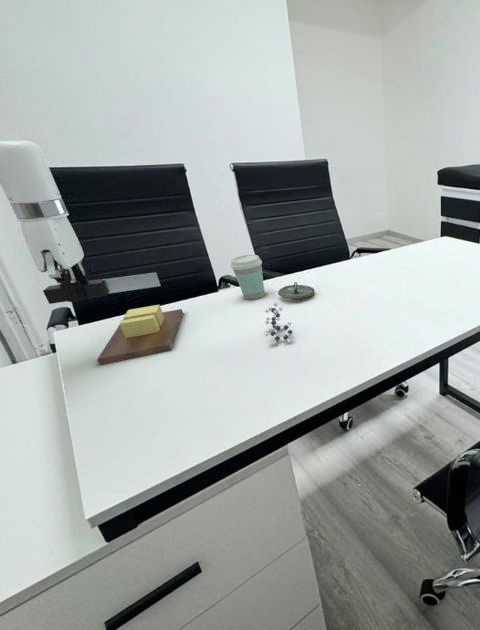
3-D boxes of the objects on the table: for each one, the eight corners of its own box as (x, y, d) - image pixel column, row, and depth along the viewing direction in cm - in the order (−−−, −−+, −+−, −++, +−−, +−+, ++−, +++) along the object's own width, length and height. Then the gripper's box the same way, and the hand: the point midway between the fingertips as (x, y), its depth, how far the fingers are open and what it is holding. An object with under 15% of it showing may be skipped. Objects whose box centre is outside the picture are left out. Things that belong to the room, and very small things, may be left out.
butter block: (129, 331, 96) (123, 317, 95) (134, 323, 101) (128, 309, 99) (161, 325, 99) (155, 311, 97) (164, 318, 103) (159, 304, 101)
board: (99, 364, 86) (97, 359, 85) (125, 324, 104) (123, 319, 103) (171, 350, 90) (169, 344, 90) (183, 313, 109) (181, 308, 108)
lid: (278, 299, 119) (271, 286, 116) (306, 284, 122) (300, 270, 120) (291, 311, 111) (283, 298, 108) (320, 295, 115) (314, 281, 112)
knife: (49, 304, 80) (42, 289, 79) (55, 298, 82) (48, 284, 81) (159, 288, 86) (154, 274, 85) (161, 283, 89) (157, 270, 87)
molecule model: (267, 356, 90) (275, 331, 86) (255, 322, 97) (261, 297, 93) (294, 354, 94) (302, 329, 90) (280, 321, 101) (287, 297, 97)
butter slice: (125, 338, 93) (119, 323, 91) (127, 335, 95) (121, 320, 93) (158, 332, 96) (152, 317, 94) (160, 328, 97) (154, 314, 95)
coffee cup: (265, 288, 123) (257, 252, 118) (272, 296, 117) (263, 258, 112) (237, 295, 119) (227, 257, 114) (242, 304, 113) (232, 265, 108)
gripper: (36, 205, 80) (74, 287, 89) (-8, 220, 67) (41, 315, 75) (80, 202, 83) (112, 282, 91) (45, 215, 69) (87, 308, 77)
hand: (80, 296), depth 83 cm, fingers closed on knife, 3 cm apart
